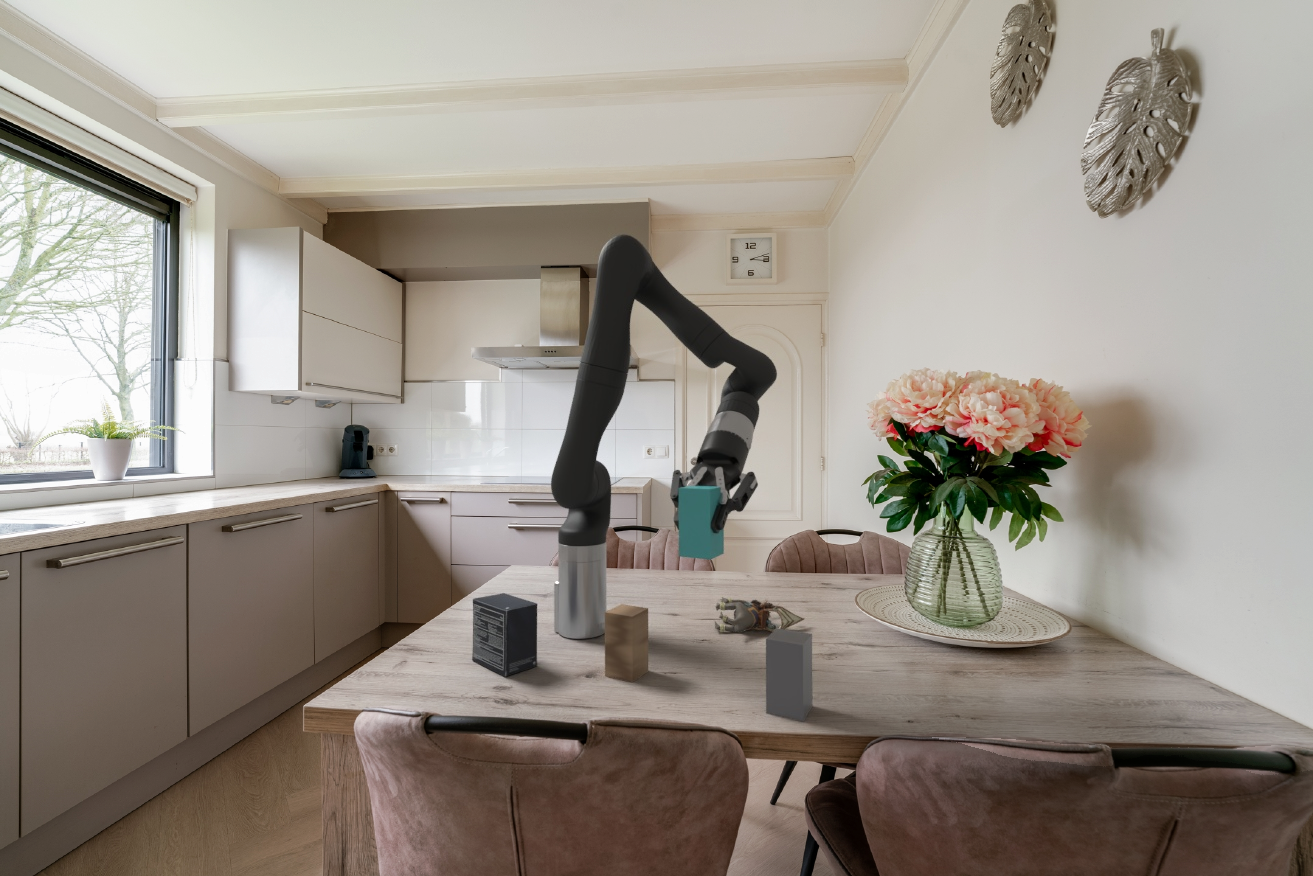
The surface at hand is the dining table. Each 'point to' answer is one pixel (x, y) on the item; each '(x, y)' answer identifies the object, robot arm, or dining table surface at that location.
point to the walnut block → (626, 642)
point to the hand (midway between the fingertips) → (696, 528)
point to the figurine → (753, 616)
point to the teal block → (699, 522)
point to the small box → (504, 633)
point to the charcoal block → (789, 674)
